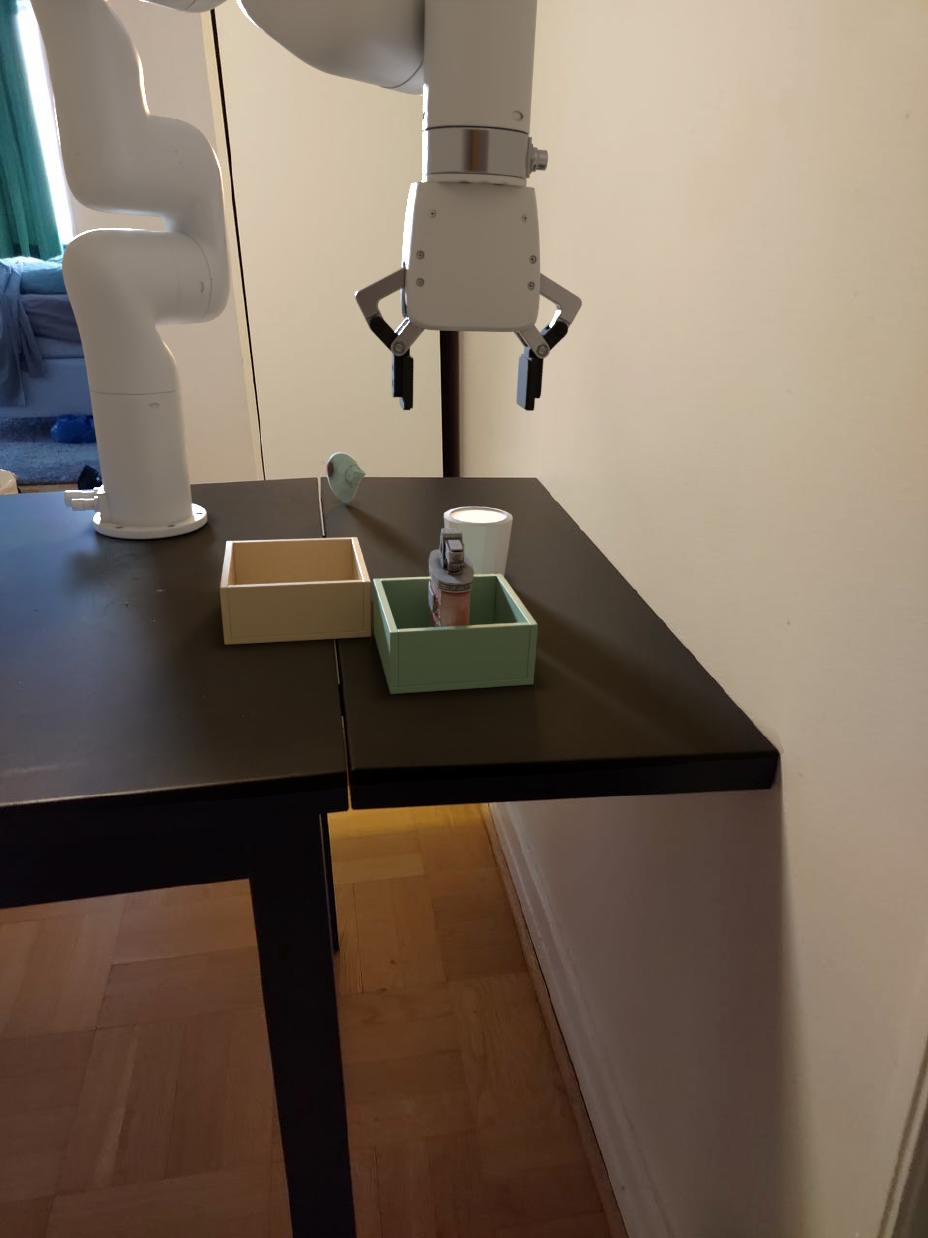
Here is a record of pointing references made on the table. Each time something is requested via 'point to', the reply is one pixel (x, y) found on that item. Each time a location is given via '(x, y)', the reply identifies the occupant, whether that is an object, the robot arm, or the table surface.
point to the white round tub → (482, 536)
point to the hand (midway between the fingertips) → (466, 407)
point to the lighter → (450, 581)
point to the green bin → (453, 638)
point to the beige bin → (294, 590)
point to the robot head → (344, 476)
